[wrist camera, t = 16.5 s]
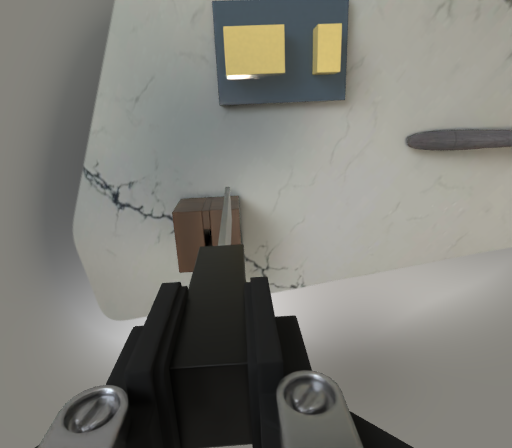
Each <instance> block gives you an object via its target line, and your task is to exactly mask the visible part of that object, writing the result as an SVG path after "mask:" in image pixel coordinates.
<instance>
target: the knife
mask: <svg viewBox="0 0 512 448" xmlns="http://www.w3.org/2000/svg"><path fill="white" fill-rule="evenodd" d="M231 228H232V213H231V198H230V187H226V188H225V196H224V203H223V211H222V218H221V226H220V234H219V241H218V246H204V247H199V251H198V255H197V259H196V262H195V266H194V270H193V274H192V278H191V281H190V285H189V289H188V292H189V293H188V297H187V300H186V304H185V308H184V312H183V316H182V320H181V324H180V328H179V332H178V335H177V339H176V343H175V347H174V351H173V355H172V359H171V363H170V367H169V372H170V378H171V385H172V392H173V399H174V405H175V412H176V419H177V426H178V432H179V439H180V446H181V448H209V447H223V446H235V445H247V444H252V428H251V411H250V395H249V378H248V360H247V338H246V315H245V292H244V283H245V282H246V278H245V260H244V245H243V244H238V245H231Z"/></svg>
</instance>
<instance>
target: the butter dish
mask: <svg viewBox="0 0 512 448" xmlns="http://www.w3.org/2000/svg"><path fill="white" fill-rule="evenodd" d="M212 7H213V21H214V36H215V50H216V64H217V78H218V92H219V105H244V104H267V103H290V102H313V101H336V100H345V91H346V63H347V35H348V8H349V0H228V1H212ZM337 23H342V39H341V67H340V72H338V73H336V74H324V75H313V74H312V72H313V29H314V28H315V27H316V26H317V25H318V24H337Z"/></svg>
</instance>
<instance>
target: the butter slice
mask: <svg viewBox="0 0 512 448" xmlns="http://www.w3.org/2000/svg"><path fill="white" fill-rule="evenodd" d="M341 39H342V23H337V24H318V25H317V26H316V27H315V28H314V29H313V72H312V74H313V75H324V74H336V73H338V72H340V67H341Z"/></svg>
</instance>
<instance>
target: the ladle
mask: <svg viewBox="0 0 512 448" xmlns="http://www.w3.org/2000/svg"><path fill="white" fill-rule="evenodd" d="M407 143H408V145H409V146H410V147H412V148H416V149H424V150H468V149H480V148H494V147H512V130H449V131H432V132H424V133H420V134H415V135H412V136H410V137H409V138H408V140H407Z"/></svg>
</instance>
